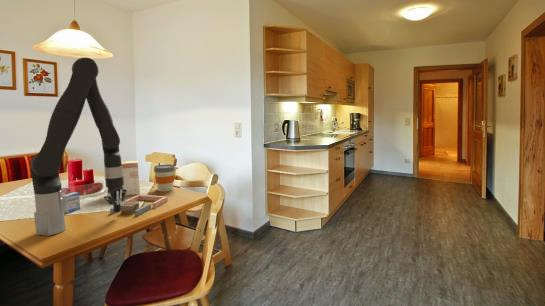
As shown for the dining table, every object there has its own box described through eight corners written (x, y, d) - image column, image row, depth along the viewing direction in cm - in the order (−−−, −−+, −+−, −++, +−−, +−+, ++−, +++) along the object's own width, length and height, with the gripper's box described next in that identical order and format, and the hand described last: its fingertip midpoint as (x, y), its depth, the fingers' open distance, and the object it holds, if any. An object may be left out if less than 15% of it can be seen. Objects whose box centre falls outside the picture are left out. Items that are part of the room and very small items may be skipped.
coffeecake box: (139, 191, 193) (137, 160, 190) (140, 194, 186) (138, 162, 183) (112, 194, 187) (110, 162, 184) (111, 197, 180) (109, 164, 177)
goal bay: (155, 207, 161) (155, 203, 161) (124, 205, 165) (123, 201, 165) (167, 200, 174) (167, 196, 173) (138, 199, 177) (138, 194, 177)
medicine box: (68, 213, 152) (66, 196, 151) (60, 213, 153) (58, 196, 152) (80, 208, 160) (79, 192, 159) (73, 208, 161) (71, 191, 160)
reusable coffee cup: (151, 189, 197) (149, 166, 195) (168, 186, 206) (167, 163, 204) (161, 193, 189) (160, 169, 187) (179, 189, 198) (178, 166, 196)
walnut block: (132, 214, 153) (132, 206, 152) (121, 213, 153) (120, 205, 153) (139, 210, 159) (138, 202, 158) (128, 209, 159) (127, 202, 159)
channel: (137, 215, 150) (137, 210, 149) (110, 213, 152) (109, 208, 152) (150, 208, 160) (150, 203, 160) (124, 206, 163) (124, 202, 163)
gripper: (111, 179, 136) (115, 217, 139) (130, 173, 149) (133, 207, 152) (96, 179, 138) (100, 216, 140) (116, 172, 151) (119, 207, 153)
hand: (117, 212), depth 146 cm, fingers closed
